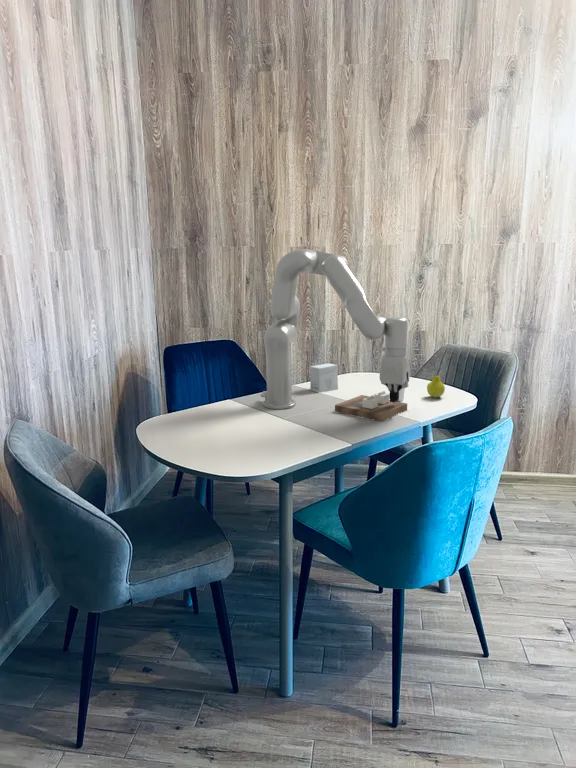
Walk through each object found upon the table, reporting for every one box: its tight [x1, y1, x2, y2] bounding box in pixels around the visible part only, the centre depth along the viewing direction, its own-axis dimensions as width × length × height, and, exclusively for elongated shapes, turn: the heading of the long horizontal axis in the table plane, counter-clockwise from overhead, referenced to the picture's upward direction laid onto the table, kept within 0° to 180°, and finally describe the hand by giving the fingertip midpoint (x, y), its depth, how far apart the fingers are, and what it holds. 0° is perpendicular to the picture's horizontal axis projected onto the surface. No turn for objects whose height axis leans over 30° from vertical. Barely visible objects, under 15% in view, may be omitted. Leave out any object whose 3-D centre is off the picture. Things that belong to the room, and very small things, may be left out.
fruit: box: [426, 368, 446, 399], centre depth 226 cm, size 7×7×12 cm
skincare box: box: [309, 362, 339, 393], centre depth 240 cm, size 10×6×10 cm, turn 126°
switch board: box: [334, 394, 408, 422], centre depth 209 cm, size 20×18×2 cm
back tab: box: [373, 390, 390, 404], centre depth 210 cm, size 4×4×4 cm
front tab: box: [362, 395, 378, 409], centre depth 204 cm, size 4×4×4 cm
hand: (393, 401), depth 207 cm, fingers closed
